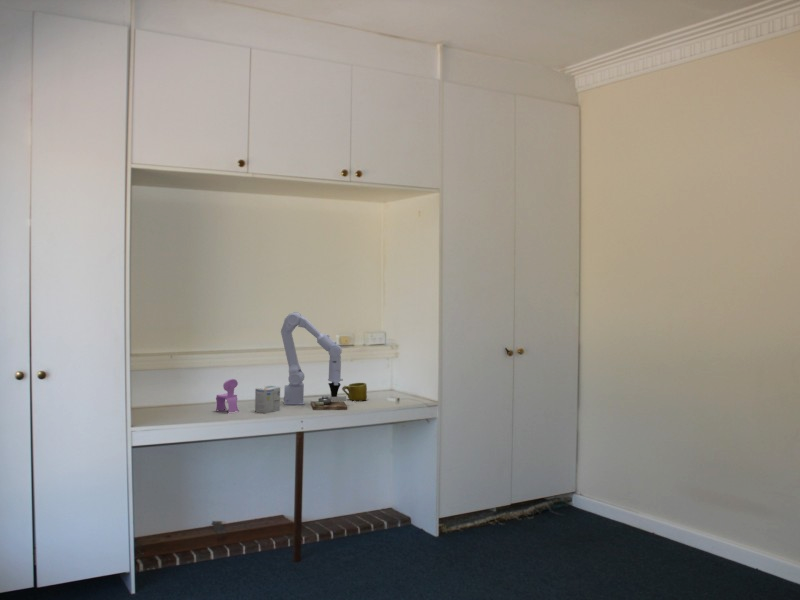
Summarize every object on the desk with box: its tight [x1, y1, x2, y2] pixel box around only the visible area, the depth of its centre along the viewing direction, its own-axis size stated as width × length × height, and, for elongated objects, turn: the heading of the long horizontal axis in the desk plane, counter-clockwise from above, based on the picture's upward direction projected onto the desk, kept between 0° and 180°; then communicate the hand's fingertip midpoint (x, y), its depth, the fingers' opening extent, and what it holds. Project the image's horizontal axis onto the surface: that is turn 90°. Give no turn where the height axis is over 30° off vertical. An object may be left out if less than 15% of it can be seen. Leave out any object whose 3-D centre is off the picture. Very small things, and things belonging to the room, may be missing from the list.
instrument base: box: [310, 400, 348, 411], centre depth 360 cm, size 16×14×3 cm
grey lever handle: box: [318, 395, 347, 405], centre depth 361 cm, size 13×6×3 cm, turn 101°
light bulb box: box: [254, 385, 281, 414], centre depth 347 cm, size 11×7×11 cm, turn 152°
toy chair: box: [215, 378, 240, 414], centre depth 342 cm, size 8×9×15 cm
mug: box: [341, 382, 368, 402], centre depth 383 cm, size 12×10×10 cm
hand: (334, 397), depth 366 cm, fingers closed
